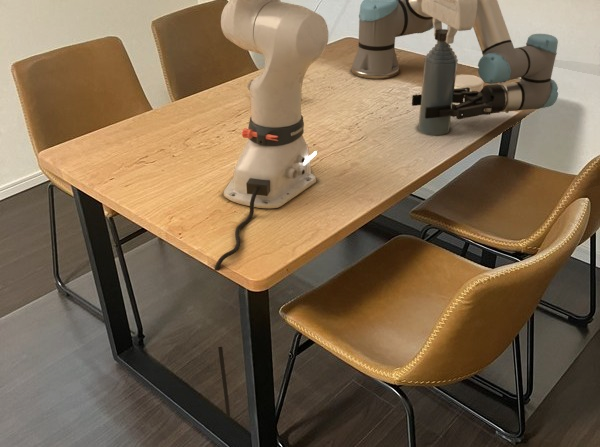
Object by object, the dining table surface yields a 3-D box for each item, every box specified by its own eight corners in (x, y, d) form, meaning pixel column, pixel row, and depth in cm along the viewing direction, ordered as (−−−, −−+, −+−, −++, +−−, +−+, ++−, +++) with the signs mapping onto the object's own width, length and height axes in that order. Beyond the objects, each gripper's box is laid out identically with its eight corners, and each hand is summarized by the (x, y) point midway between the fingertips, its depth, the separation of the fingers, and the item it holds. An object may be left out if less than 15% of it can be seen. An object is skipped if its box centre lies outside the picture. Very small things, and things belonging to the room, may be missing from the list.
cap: (455, 39, 152) (456, 31, 151) (444, 42, 150) (445, 34, 149) (442, 35, 155) (443, 28, 154) (431, 39, 152) (431, 31, 151)
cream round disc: (444, 85, 192) (445, 74, 190) (475, 84, 193) (477, 73, 191) (454, 97, 183) (456, 86, 181) (487, 95, 184) (489, 84, 182)
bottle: (416, 123, 168) (424, 29, 155) (446, 122, 168) (457, 29, 155) (420, 135, 161) (429, 38, 148) (451, 135, 161) (464, 38, 148)
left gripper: (417, -27, 152) (413, 30, 160) (459, -10, 136) (451, 53, 143) (440, -29, 154) (435, 28, 161) (484, -12, 137) (476, 50, 145)
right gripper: (517, 126, 158) (433, 136, 154) (479, 97, 175) (403, 105, 171) (522, 98, 154) (437, 107, 150) (483, 71, 171) (405, 79, 167)
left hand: (443, 40), depth 152 cm, fingers closed on cap, 4 cm apart
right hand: (419, 106), depth 160 cm, fingers closed on bottle, 8 cm apart
